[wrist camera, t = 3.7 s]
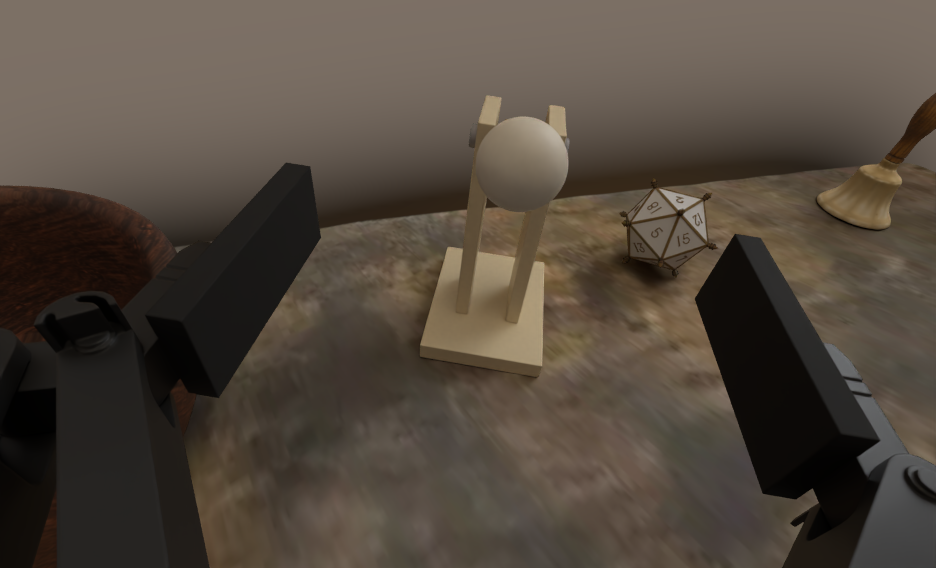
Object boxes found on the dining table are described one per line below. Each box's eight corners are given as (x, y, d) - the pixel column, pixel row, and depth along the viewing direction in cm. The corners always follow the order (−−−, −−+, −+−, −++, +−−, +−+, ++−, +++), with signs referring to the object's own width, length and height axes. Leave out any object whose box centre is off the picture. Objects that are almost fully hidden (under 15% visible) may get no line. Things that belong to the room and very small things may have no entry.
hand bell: (843, 190, 62) (936, 68, 51) (903, 225, 56) (1022, 96, 45) (801, 197, 59) (891, 69, 48) (861, 234, 54) (976, 99, 43)
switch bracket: (538, 377, 33) (609, 175, 22) (419, 357, 34) (428, 146, 22) (541, 273, 42) (592, 91, 31) (446, 257, 42) (463, 71, 31)
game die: (617, 281, 48) (594, 191, 46) (694, 256, 48) (675, 164, 46) (653, 304, 40) (626, 194, 37) (748, 274, 39) (726, 160, 37)
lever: (561, 229, 17) (584, 126, 15) (465, 213, 17) (480, 110, 15) (540, 173, 30) (551, 116, 28) (486, 164, 30) (495, 107, 28)
